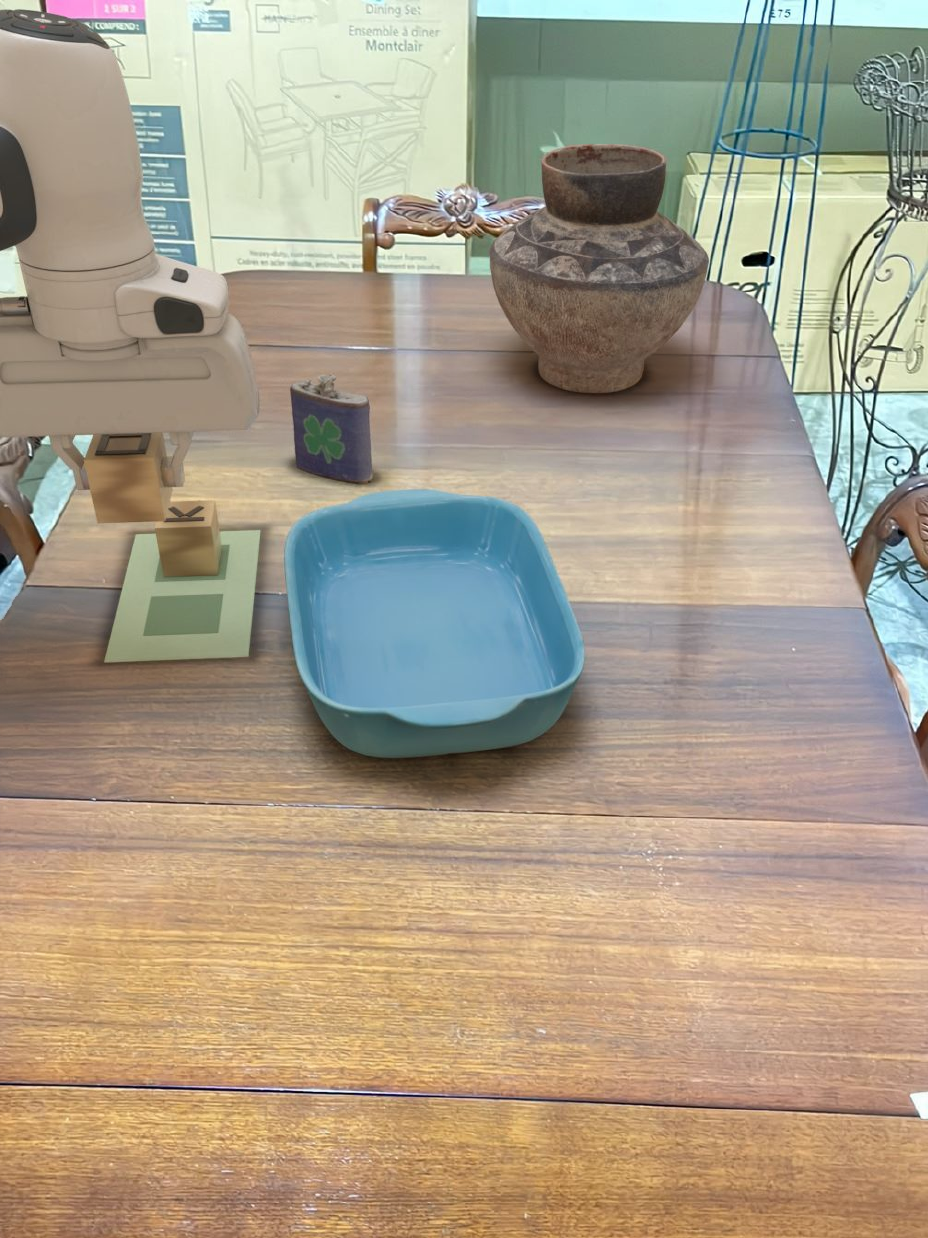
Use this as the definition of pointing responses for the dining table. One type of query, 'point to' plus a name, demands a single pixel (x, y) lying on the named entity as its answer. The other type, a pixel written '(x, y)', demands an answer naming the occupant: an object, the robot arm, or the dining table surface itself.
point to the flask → (331, 431)
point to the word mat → (186, 605)
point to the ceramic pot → (597, 268)
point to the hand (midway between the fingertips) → (132, 485)
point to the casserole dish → (429, 623)
